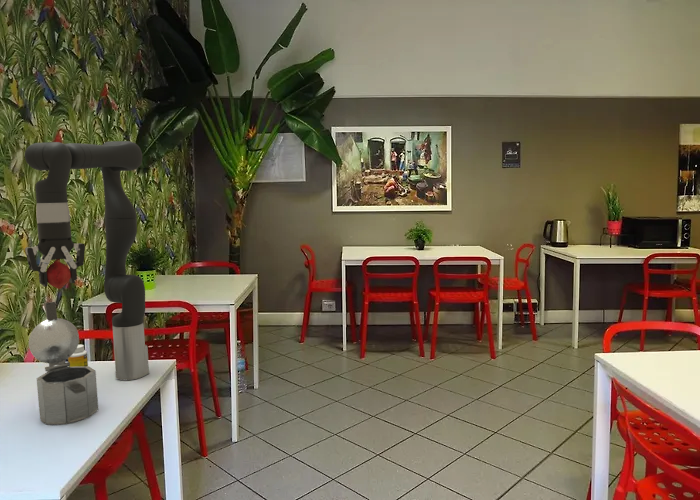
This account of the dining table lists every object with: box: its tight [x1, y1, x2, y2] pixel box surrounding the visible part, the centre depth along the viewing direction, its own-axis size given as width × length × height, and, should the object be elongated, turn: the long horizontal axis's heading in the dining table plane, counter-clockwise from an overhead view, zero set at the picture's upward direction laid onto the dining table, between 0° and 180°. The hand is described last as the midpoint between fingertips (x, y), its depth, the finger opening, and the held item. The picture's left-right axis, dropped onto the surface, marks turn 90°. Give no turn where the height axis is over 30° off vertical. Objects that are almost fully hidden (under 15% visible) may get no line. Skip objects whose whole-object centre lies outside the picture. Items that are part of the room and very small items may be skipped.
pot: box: [36, 365, 99, 426], centre depth 140 cm, size 14×18×11 cm
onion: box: [45, 259, 71, 290], centre depth 138 cm, size 6×6×8 cm
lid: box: [28, 301, 80, 372], centre depth 146 cm, size 12×19×2 cm
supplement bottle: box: [67, 344, 89, 367], centre depth 170 cm, size 6×6×10 cm
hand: (58, 284), depth 138 cm, fingers closed on onion, 6 cm apart
